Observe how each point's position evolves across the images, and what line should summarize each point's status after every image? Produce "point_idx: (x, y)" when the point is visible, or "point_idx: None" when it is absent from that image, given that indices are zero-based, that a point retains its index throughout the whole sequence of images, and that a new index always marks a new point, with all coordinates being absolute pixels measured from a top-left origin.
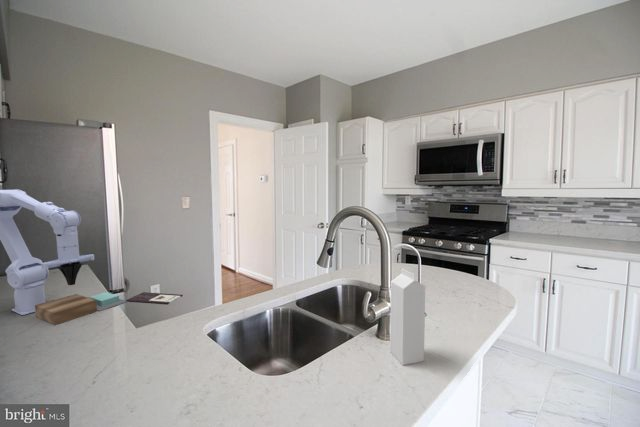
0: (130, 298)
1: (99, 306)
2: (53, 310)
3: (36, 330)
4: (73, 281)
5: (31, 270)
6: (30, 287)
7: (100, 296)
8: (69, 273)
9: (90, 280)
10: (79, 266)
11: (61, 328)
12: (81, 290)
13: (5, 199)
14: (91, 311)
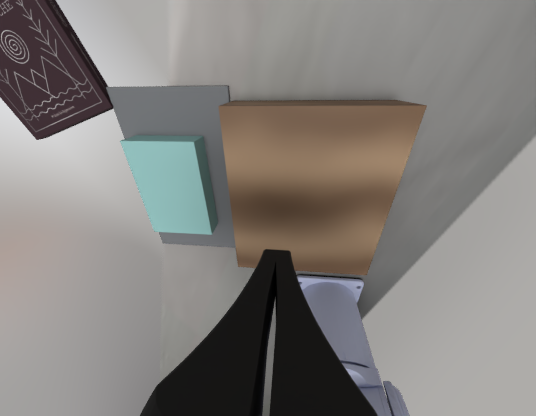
0: (90, 110)
1: (210, 143)
2: (396, 149)
3: (454, 109)
4: (271, 263)
5: None
6: (356, 365)
7: (181, 203)
8: (302, 333)
9: (167, 351)
10: (178, 394)
11: (421, 12)
12: (200, 318)
13: None
14: (254, 101)
